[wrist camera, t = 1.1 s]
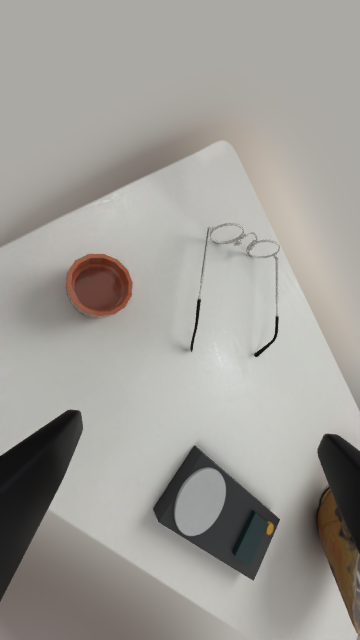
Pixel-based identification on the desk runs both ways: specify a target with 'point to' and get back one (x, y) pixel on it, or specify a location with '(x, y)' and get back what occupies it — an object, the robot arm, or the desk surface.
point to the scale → (217, 514)
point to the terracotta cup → (98, 285)
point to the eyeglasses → (210, 229)
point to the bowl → (341, 555)
